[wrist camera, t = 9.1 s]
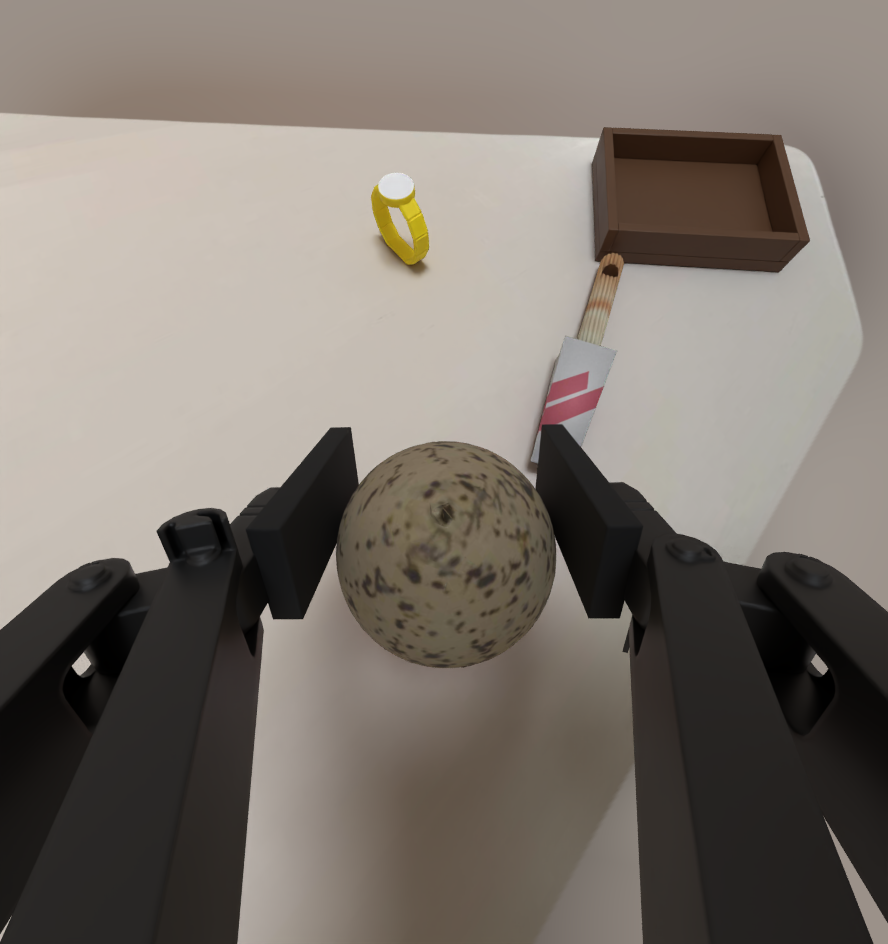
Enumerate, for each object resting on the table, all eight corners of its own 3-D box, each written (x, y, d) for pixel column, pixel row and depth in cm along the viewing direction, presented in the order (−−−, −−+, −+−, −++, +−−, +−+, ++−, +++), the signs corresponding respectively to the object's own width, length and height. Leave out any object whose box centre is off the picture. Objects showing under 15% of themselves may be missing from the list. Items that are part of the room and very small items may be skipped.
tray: (756, 170, 36) (781, 134, 34) (779, 272, 32) (810, 240, 30) (592, 162, 37) (603, 126, 34) (595, 261, 33) (608, 229, 30)
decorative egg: (539, 504, 18) (635, 397, 8) (513, 668, 16) (601, 773, 6) (394, 472, 19) (331, 340, 9) (349, 624, 16) (204, 660, 7)
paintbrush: (526, 449, 24) (597, 242, 31) (519, 465, 27) (585, 270, 34) (585, 469, 24) (644, 254, 30) (572, 483, 26) (629, 282, 33)
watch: (371, 241, 34) (356, 171, 29) (395, 226, 35) (384, 155, 29) (412, 280, 33) (404, 214, 27) (437, 264, 34) (434, 196, 28)
